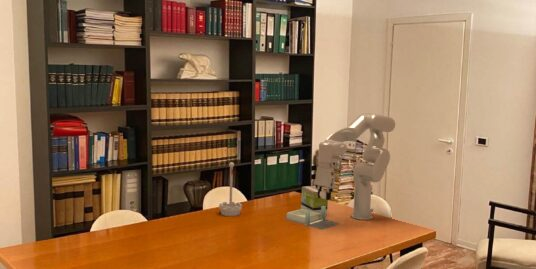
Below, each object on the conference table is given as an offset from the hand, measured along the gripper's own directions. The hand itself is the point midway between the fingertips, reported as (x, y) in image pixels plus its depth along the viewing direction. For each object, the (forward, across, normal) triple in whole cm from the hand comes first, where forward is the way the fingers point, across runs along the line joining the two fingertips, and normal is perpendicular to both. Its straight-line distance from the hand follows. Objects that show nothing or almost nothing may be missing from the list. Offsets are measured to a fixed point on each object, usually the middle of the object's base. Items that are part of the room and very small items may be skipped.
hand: (324, 198), depth 281 cm
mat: (+15, +8, -1) cm, 17 cm away
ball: (0, 0, 0) cm, 0 cm away
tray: (+15, +14, -1) cm, 21 cm away
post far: (+15, +6, -8) cm, 18 cm away
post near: (+15, +6, +6) cm, 17 cm away
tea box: (+15, +19, -16) cm, 29 cm away
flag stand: (+15, +51, +21) cm, 57 cm away
